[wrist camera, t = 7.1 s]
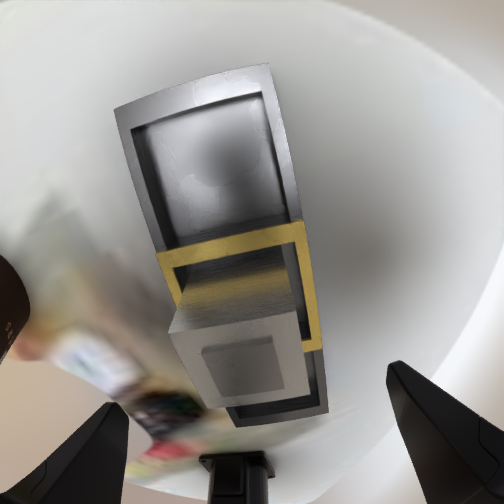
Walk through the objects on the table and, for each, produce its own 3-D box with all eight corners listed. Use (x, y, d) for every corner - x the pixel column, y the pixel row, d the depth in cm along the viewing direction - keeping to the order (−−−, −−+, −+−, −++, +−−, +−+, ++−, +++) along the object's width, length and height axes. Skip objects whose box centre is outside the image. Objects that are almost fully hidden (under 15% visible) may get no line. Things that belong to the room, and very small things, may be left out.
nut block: (294, 315, 15) (311, 397, 10) (218, 329, 16) (207, 412, 11) (280, 243, 14) (297, 314, 9) (194, 262, 14) (166, 337, 9)
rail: (323, 391, 19) (329, 414, 17) (237, 406, 19) (235, 429, 18) (265, 72, 11) (268, 61, 9) (131, 111, 12) (111, 109, 10)
